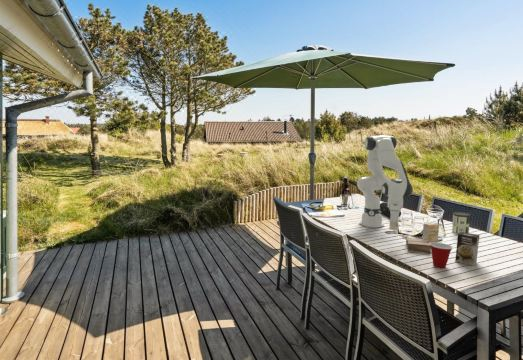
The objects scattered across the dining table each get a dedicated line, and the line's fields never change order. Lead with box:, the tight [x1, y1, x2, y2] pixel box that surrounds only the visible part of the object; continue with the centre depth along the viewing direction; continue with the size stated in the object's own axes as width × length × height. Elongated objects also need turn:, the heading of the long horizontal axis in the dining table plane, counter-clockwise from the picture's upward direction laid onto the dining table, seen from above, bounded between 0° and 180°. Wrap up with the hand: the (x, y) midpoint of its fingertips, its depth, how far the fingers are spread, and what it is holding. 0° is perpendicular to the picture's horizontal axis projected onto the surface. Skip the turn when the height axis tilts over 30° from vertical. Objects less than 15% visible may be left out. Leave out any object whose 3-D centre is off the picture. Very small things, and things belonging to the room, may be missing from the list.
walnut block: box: [405, 236, 431, 254], centre depth 187 cm, size 12×12×5 cm
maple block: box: [388, 217, 399, 231], centre depth 191 cm, size 5×5×6 cm
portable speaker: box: [380, 201, 402, 218], centre depth 265 cm, size 26×10×10 cm, turn 2°
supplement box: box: [422, 222, 440, 243], centre depth 195 cm, size 8×5×13 cm, turn 105°
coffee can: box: [451, 211, 471, 235], centre depth 215 cm, size 10×10×14 cm
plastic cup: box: [430, 242, 454, 269], centre depth 161 cm, size 11×11×12 cm
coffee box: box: [455, 232, 480, 267], centre depth 165 cm, size 9×6×16 cm
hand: (393, 225), depth 191 cm, fingers closed on maple block, 5 cm apart
